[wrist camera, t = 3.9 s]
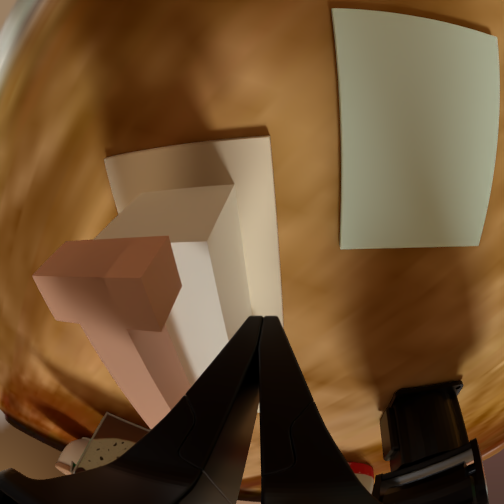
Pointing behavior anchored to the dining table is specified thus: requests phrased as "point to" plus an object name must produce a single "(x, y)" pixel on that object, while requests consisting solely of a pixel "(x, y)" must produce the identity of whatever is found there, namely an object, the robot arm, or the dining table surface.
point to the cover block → (196, 265)
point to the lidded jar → (71, 454)
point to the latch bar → (122, 313)
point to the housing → (212, 174)
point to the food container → (108, 442)
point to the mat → (414, 129)
